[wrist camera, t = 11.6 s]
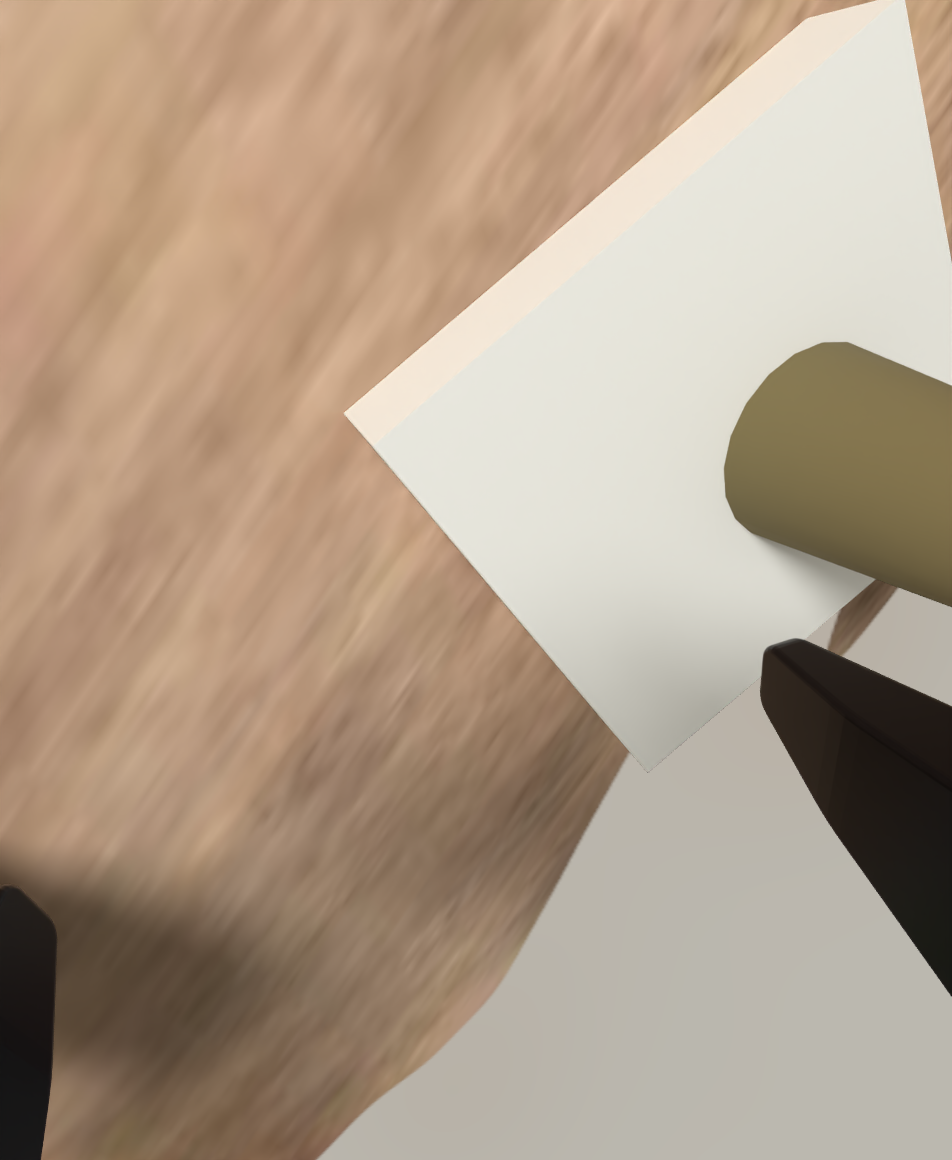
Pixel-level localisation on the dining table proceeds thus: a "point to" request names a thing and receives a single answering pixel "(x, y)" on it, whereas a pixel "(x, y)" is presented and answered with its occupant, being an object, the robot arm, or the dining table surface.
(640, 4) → the dining table surface
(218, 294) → the dining table surface
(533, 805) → the dining table surface
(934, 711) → the robot arm
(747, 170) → the base block
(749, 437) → the cork
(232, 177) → the dining table surface
